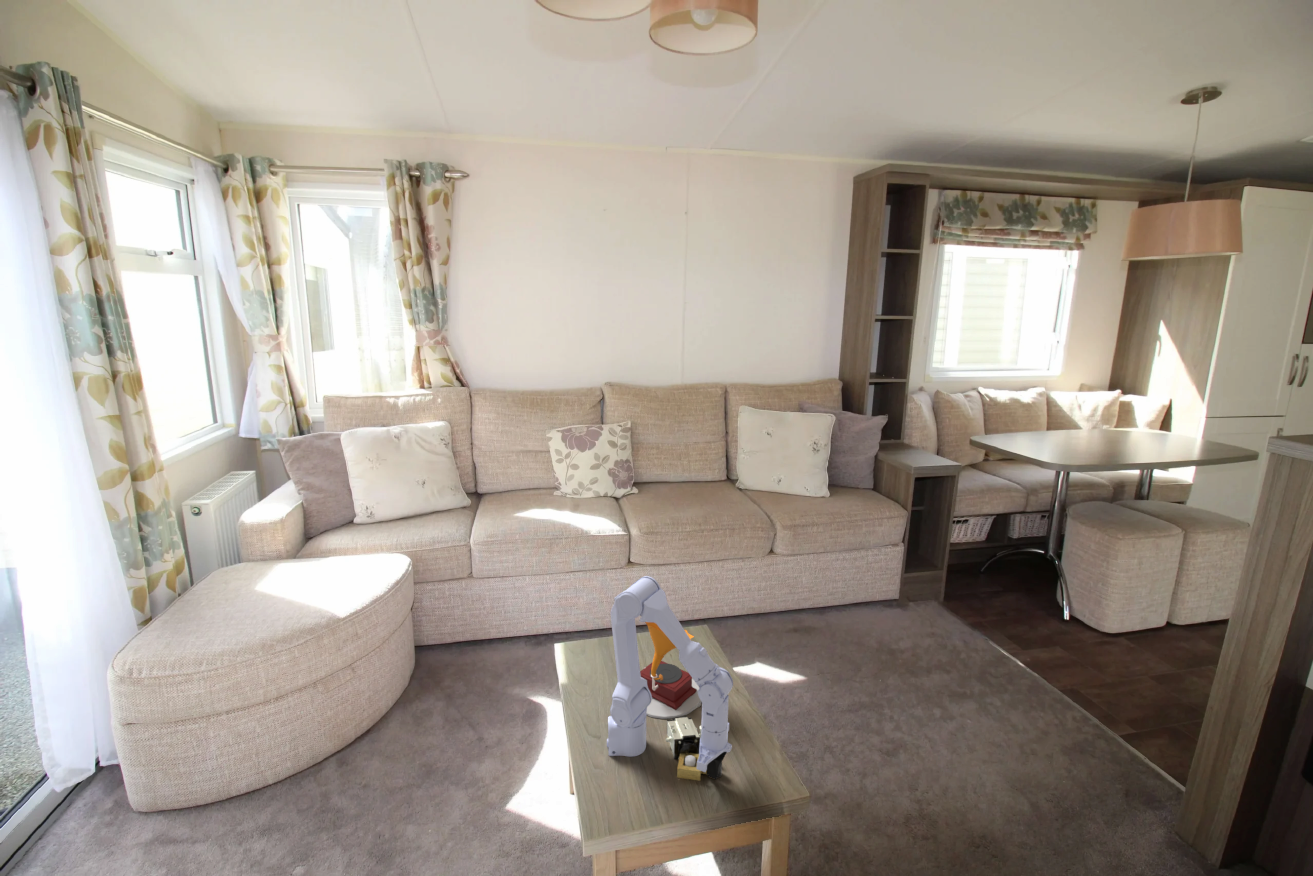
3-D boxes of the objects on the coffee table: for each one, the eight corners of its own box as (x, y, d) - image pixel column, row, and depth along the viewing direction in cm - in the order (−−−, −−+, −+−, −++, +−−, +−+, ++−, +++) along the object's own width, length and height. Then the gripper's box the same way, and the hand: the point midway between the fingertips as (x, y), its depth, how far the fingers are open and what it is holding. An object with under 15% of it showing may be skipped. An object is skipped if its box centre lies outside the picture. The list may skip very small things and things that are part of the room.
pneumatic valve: (720, 758, 141) (671, 764, 139) (707, 730, 153) (661, 735, 151) (721, 736, 141) (671, 741, 139) (707, 709, 152) (661, 714, 150)
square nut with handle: (720, 783, 134) (721, 772, 133) (677, 777, 135) (677, 766, 135) (722, 766, 139) (722, 755, 138) (680, 760, 140) (680, 749, 140)
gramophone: (672, 734, 151) (674, 645, 145) (611, 702, 163) (610, 618, 157) (716, 693, 167) (719, 611, 161) (657, 666, 179) (657, 589, 173)
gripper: (719, 751, 123) (717, 807, 126) (742, 710, 136) (740, 761, 139) (688, 740, 127) (686, 794, 130) (713, 700, 139) (711, 751, 142)
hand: (712, 776), depth 135 cm, fingers closed
